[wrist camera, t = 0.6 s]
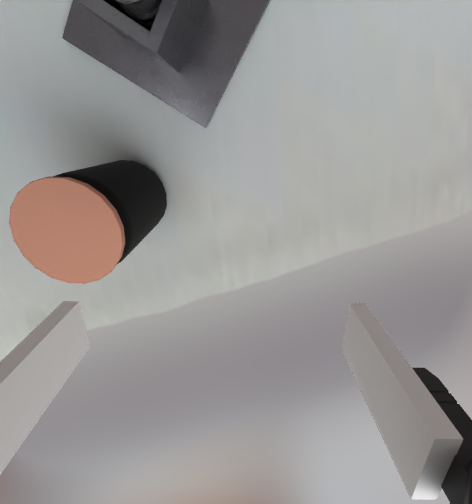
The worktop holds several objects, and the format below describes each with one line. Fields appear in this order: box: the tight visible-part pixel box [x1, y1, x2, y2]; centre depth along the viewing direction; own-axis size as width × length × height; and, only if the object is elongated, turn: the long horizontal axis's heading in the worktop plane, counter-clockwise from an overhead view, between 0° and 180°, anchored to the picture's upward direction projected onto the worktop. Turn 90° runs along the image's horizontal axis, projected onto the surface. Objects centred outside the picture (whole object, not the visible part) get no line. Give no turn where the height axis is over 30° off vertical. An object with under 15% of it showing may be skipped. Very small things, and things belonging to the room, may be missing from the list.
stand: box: [62, 0, 270, 128], centre depth 30 cm, size 20×16×11 cm
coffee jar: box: [9, 160, 167, 284], centre depth 35 cm, size 11×11×18 cm
